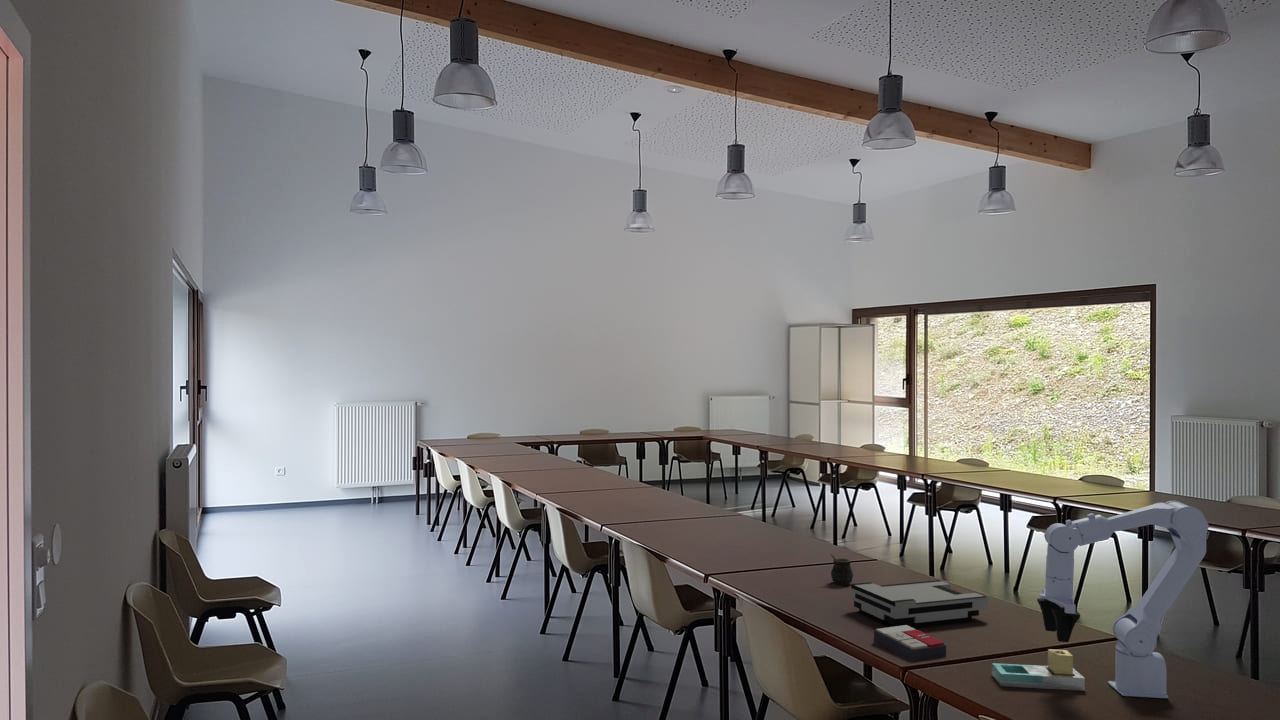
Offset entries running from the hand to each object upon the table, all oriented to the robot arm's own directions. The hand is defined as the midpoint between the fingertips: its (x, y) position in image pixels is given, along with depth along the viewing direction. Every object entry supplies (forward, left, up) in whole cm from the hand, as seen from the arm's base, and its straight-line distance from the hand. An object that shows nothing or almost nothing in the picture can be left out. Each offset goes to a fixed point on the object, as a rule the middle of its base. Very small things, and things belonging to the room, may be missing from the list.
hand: (1056, 636), depth 192 cm
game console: (+20, -51, -11) cm, 56 cm away
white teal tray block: (+4, 0, -11) cm, 12 cm away
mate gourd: (+38, -85, -11) cm, 94 cm away
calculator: (+29, -20, -12) cm, 37 cm away
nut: (-1, 0, -10) cm, 10 cm away
